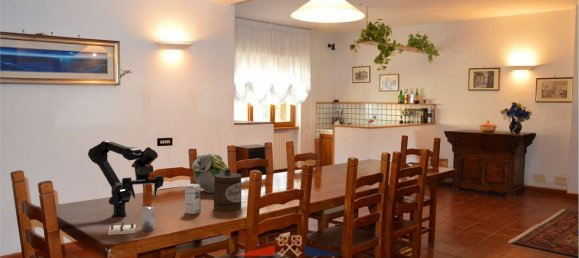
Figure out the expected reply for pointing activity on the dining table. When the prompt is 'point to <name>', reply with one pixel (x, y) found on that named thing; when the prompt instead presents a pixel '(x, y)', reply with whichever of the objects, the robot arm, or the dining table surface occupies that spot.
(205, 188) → the flower arrangement
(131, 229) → the pin tray
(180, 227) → the dining table surface
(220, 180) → the wooden container
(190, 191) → the syrup box
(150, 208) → the steel canister
